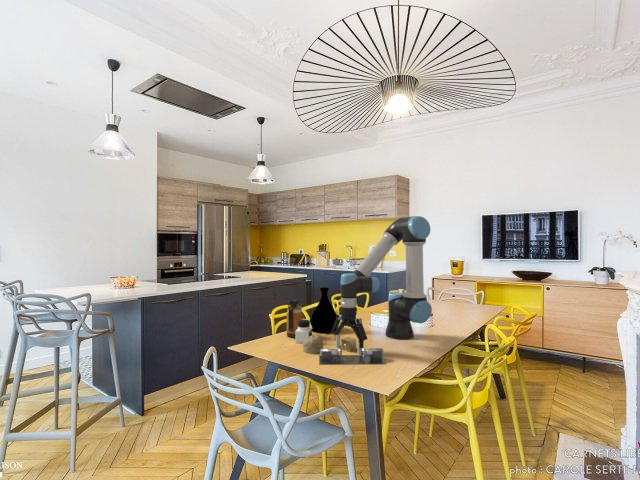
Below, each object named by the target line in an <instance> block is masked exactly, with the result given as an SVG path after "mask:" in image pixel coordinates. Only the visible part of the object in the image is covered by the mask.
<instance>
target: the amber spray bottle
mask: <svg viewBox="0 0 640 480" xmlns="http://www.w3.org/2000/svg"><path fill="white" fill-rule="evenodd" d="M299 303H300V300H299V299H293V300H290V301H289V303H288V305H287V312H286V336H287V337H290V338H295V331H296V330H297V329H298V321H299V320H301V319H304V312H303V309H302V306H300V305H299Z"/></svg>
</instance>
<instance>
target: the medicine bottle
mask: <svg viewBox="0 0 640 480" xmlns="http://www.w3.org/2000/svg"><path fill="white" fill-rule="evenodd" d="M310 325H311V324H310V319H307V318H303V319H301V320H299V321H298V329H297V330H296V331H295V337H294V338H295V344H299V345H301V344H302V345H303V343H304V341H305V340H306V338H308V337H310V336H313V332H312V327H311V326H310Z"/></svg>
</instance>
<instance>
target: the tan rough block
mask: <svg viewBox="0 0 640 480" xmlns="http://www.w3.org/2000/svg"><path fill="white" fill-rule="evenodd" d="M340 342H341V348H342V351H345V352H349V353H351V352H354V351H356V350H357V338H354V337H349V336H348V337H345V338H342V339H341V338H340Z"/></svg>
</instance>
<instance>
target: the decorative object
mask: <svg viewBox="0 0 640 480" xmlns="http://www.w3.org/2000/svg"><path fill="white" fill-rule="evenodd" d="M323 343H324V341H323V340H322V339H321V337H320V336H319V335H314V334H312V336H310V337H308V338H306V340H305V341H304V343H303V344H302V352H304V353H306V354H309V355H310V354H320V349H324V344H323Z"/></svg>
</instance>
